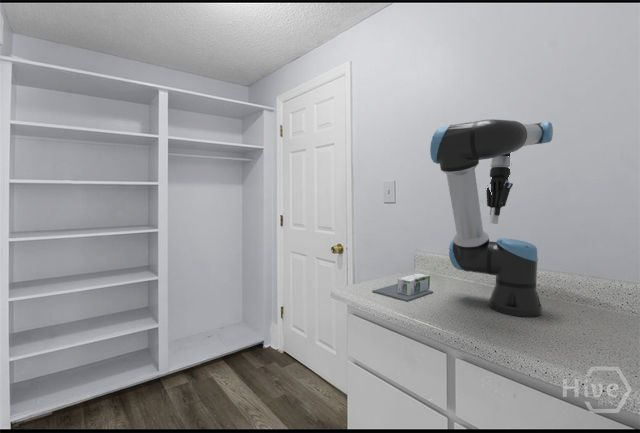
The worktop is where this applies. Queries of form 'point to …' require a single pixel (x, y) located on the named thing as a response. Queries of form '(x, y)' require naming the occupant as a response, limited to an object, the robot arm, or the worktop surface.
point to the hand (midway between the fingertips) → (493, 223)
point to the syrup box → (413, 284)
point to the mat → (392, 292)
